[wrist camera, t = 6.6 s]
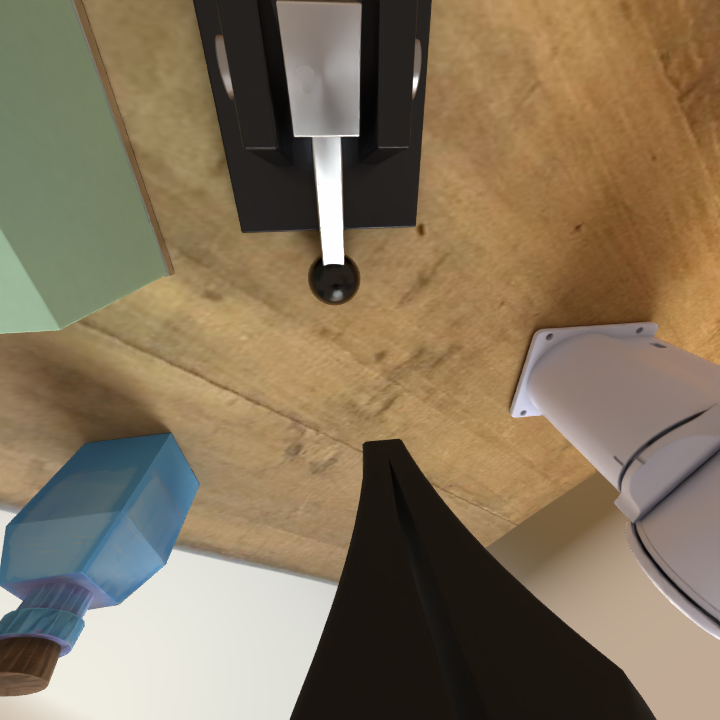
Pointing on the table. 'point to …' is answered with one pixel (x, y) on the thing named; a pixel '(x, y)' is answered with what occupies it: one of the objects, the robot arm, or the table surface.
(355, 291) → the switch lever
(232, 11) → the switch bracket
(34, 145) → the toaster body
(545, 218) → the table surface
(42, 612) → the perfume bottle
